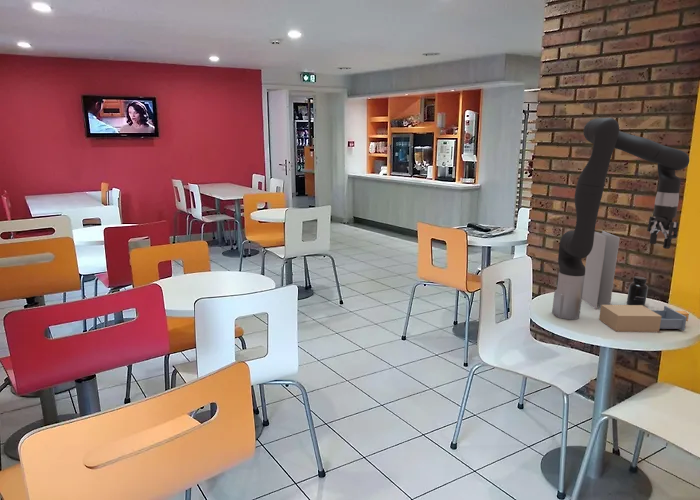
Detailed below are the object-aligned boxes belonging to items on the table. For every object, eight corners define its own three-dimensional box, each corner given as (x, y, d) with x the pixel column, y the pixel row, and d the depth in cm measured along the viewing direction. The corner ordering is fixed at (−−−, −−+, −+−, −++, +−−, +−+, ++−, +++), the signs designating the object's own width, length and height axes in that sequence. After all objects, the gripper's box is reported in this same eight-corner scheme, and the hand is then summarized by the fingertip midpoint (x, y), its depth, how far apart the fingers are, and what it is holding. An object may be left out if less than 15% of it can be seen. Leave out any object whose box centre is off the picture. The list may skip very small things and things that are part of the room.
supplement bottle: (637, 308, 212) (641, 280, 209) (622, 303, 218) (626, 276, 215) (648, 306, 214) (653, 279, 212) (634, 301, 220) (638, 274, 218)
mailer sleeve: (615, 331, 186) (618, 315, 185) (599, 319, 198) (601, 304, 196) (659, 331, 186) (661, 316, 185) (639, 320, 198) (642, 305, 197)
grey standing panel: (609, 309, 209) (620, 237, 203) (596, 309, 209) (606, 237, 203) (593, 298, 223) (603, 230, 217) (581, 298, 223) (590, 230, 217)
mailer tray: (641, 330, 186) (643, 316, 185) (623, 318, 198) (625, 305, 197) (695, 331, 187) (697, 317, 186) (673, 319, 199) (676, 306, 197)
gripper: (645, 201, 201) (639, 242, 205) (668, 206, 187) (661, 250, 191) (664, 201, 201) (657, 242, 205) (688, 207, 188) (681, 250, 191)
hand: (659, 245), depth 198 cm, fingers open, 8 cm apart
